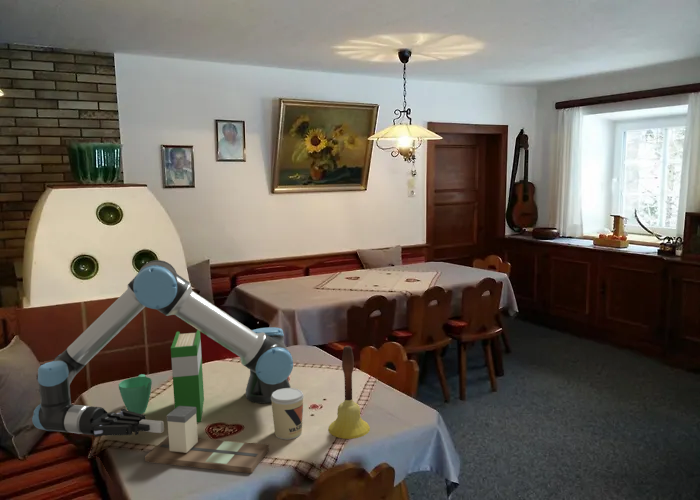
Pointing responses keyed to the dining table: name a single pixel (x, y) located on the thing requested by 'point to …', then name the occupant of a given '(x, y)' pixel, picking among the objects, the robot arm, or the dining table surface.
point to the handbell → (348, 406)
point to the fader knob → (182, 428)
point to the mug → (136, 393)
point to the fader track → (212, 455)
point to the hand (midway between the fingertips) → (162, 427)
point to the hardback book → (188, 371)
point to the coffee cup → (287, 412)
